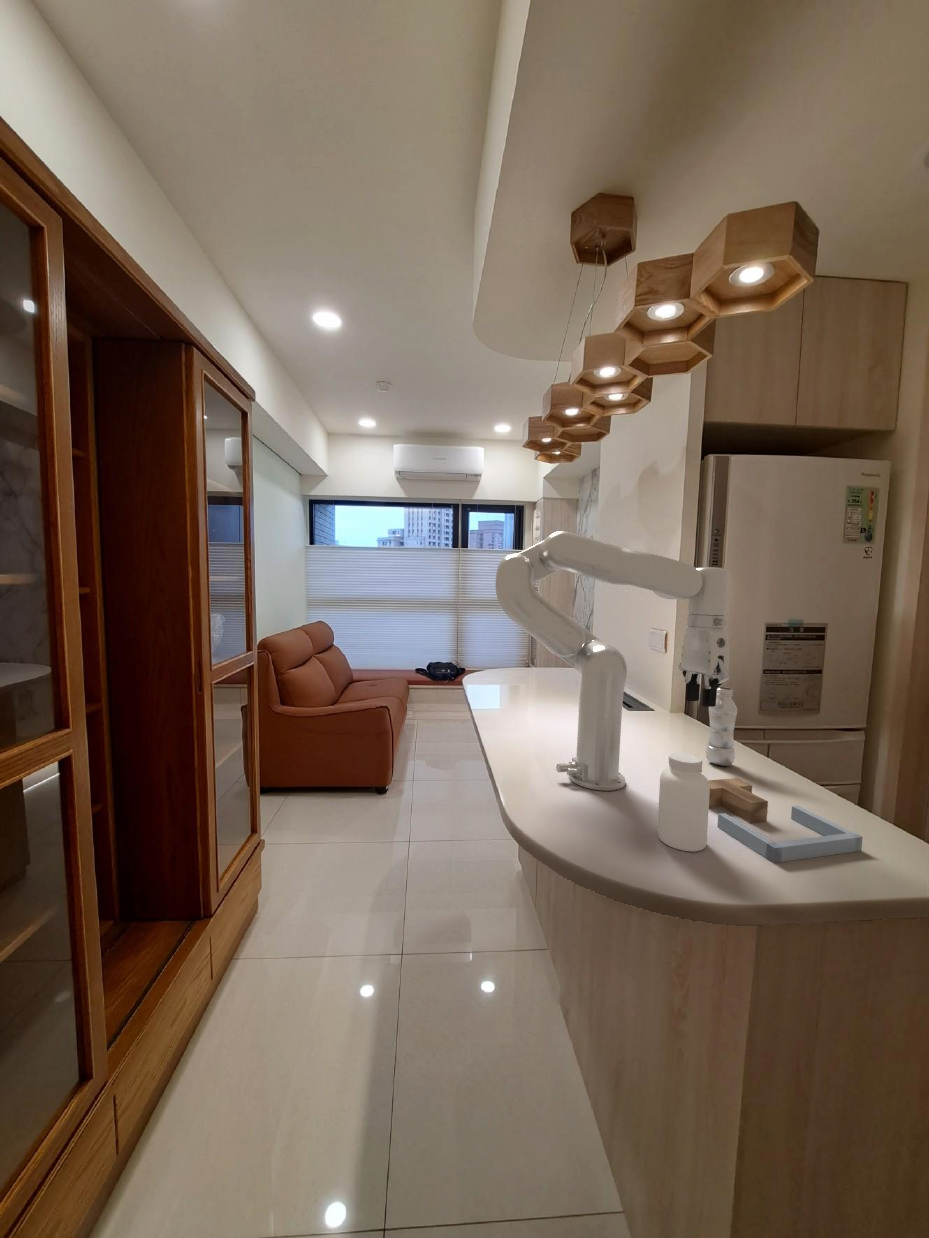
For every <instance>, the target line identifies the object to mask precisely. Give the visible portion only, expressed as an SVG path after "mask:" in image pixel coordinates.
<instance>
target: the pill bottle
mask: <svg viewBox="0 0 929 1238" xmlns="http://www.w3.org/2000/svg"><path fill="white" fill-rule="evenodd" d="M709 780H710V779H708V777H707V776H706V775H705V774H703V760H702V759H701V757H698V756H697V755H694V754H690V753H684V752H673V753H671V754H669V755H668V767H667V768H664V769H663V770H662V772H661V773H660V778H659V790H658V791H659V793H658V794H659V796H658V811H657V836H658V839H659V840H660V841H661V842H662V843H664V844H665V845H667V846H669V847H671V848H672V849H673V848H674V849H676V850H679V851H685V852H699V851H703V850H704V849H705V848H706V846H707V841H708V828H709V827H708V826H709V811H710V810H709V809H710V808H709V794H710V784H709Z"/></svg>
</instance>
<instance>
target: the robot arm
mask: <svg viewBox="0 0 929 1238" xmlns="http://www.w3.org/2000/svg"><path fill="white" fill-rule="evenodd" d="M561 570H562V571H566V572H569V573H572V574H575V575H579V576H583V577H586V578H590V579H592V580H596V581H599V582H602V583H606V584H611V585H618V586H619V585H620V586H630V587H636V588H640V589H644V590H649V591H652V592H653V594H655V595H656V596H658V597H660V598H661V599H665V600H688V603H687V618H686V621H687V622H686V628H685V631H684V635H683V640H682V647H681V655H680V663H678V664H679V665H678V669H679V670H680V671H681V673H682V676H683V677H684V683H685V684H686V688H685V701H686V702H698V701H699V700H700V690H701V683H699V679H700V676H701V675H703V677H704V687H703V688H702V697H701V705H702V707H703V708H709V707H714V706H716V696H717V689H719V688H720V687H721V685H722V684H723V683H725V682H726V681H728V680H730V674H729V671H730V644H729V642H730V641H729V635H728V634H729V633H728V631H727V630H725V626H726V624H727V620H726V610H727V609H726V608H727V596H728V595H727V594H728V581H729V572H728V571H727V569H725V568H723V567H714V566H713V567H712V566H711V567H710V566H709V567H696V566H693V565H692V564H689V563H687V562H683V561H680V560H676V559H673V558H669V557H666V556H663V555H658V554H654V553H650V552H644V551H642V550H641V551H640V550H636V549H632V548H629V547H624V546H623V547H622V546H619V545H615V544H611V543H608V542H604V541H602V540H601V541H600V540H597V539H594V538H590V537H587V536H583V535H580V534H576V533H573V532H570V531H566V530H560V531H559V530H558V531H555V532H552V533H551V534H549V535H548V536H547V537H546V538H545V539H543V540H542V541H540V542H538V543H537V544H534V545H533V546H530V547H528V548H526V549H525V550H523V551H520V552H518V553H511V554H508V555H506V556H504V557H503V558H502V559H501V560H500V562H499V564H498V566H497V568H496V575H495V594H496V598H497V601H498V604H499V606H500V607H501V609H502V611H503V613H504V614H505V615H506V616H507V617H508V618H509V619H510V620H511V621H512V622H513V623H515V624H516V625H517V626H518V627H519V628H521V629H522V630H523V631H524V632H526V633H527V634H528V635H530V636H531V637H532V638H533V639H535V640H536V641H538V642H539V643H540V644H542V645H543V646H544V647H545V649H547V651H548V652H550V653H551V654H553V655H555V656H557V657H558V658H560V659H561V660H563V661H564V662H565V663H566V664H567V665H569V666H570V667H571V668H573V669H575V670H576V671H577V672H578V673H580V675H581V682H580V683H581V684H580V691H579V698H578V699H579V700H578V717H577V719H578V721H577V722H578V723H577V740H576V741H577V742H576V756H575V757H572V758H571V761H569V762H568V763H563V762H562V763H557V764H556V767H555V768H556V769H555V770H556V771H557V773H566V775H567V776H568V777H569V779H570V781H571V782H573V783H574V784H576V785H578V786H581V787H583V788H586V789H591V790H595V791H604V792H605V791H607V792H610V791H616V790H620V789H623V788H624V786H625V785H626V778H625V776H624V775H623V774H622V773H621V772H620V771H619V770H620V752H621V733H622V714H623V713H622V712H623V700H624V692H625V687H626V681H627V675H628V667H627V662H626V659H625V657H624V655H623V654H622V653H621V651H620V650H619V649H618V648H616V647H615V646H612V645H610V644H609V643H606V642H604V641H603V640H601V639H599V638H598V637H597V636H595V635H594V634H593V633H591V632H590V631H589V630H587V629H586V628H584V627H583V626H582V625H581V624H580V623H579V622H578V620H576V619H574V618H573V617H571V616H569V615H567V614H566V613H564V612H563V611H561V610H560V609H558V608H557V607H555V605H553V604H551V603H550V602H549V601H548V600H547V599H546V598H544V597H543V596H541V595H540V594H539V593H538V592H537V590H536V589H535V587H534V584H535V583H537V582H540V581H542V580H544V579H545V578H547V577H551V575H554V574H556V573H557V572H560V571H561Z"/></svg>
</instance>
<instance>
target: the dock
mask: <svg viewBox="0 0 929 1238" xmlns="http://www.w3.org/2000/svg"><path fill="white" fill-rule="evenodd" d="M790 813H791V814H790V819H791V820H792V821H795V822H797V823H799V824H801V825H802V826H805V827H807V828H808V829H810V830H812V831H815V832H816V833H818V834H820V835H822V836H816V837H815V836H814V837H807V838H798V839H797V838H796V839H791V840H784V841H783V840H782V841H775V842H774V841H773V840H770V839H769V838H768V837H766V836H764V835H762V834H761V833H759V832H757V831H755V830H754V829H752V828H751V827H749V826H747V825H746V824H745V823H742V822H741V821H739V820H737V819H735V818H734V817H732V816H731V815H729V814H727V813H726V812H725V813H718V814H717V815H718V816H717V826H716V827H717V828H718V829H720V830H722V831H723V832H725V833H726V834H728V835H729V836H731V837H733V838H734V839H736V840H737V841H739V842H741V843H742V844H744V845H746V846H747V847H748V848H750V849H751V850H753V851H754V852H757V853H758V854H759V855H760V856H762V857H764V858H765V859H767V860H768V861H770V862H771V863H773V864H777V863H784V862H791V861H797V860H798V861H799V860H805V859H813V858H818V857H819V858H820V857H827V856H834V855H841V854H847V853H854V852H862V849H863V846H862V845H863V836H862V835H859V834H858V833H855V832H854V831H852V830H850V829H847V828H845V827H844V826H841V825H839V824H836V823H835V822H832V821H830V820H829V819H827V818H825V817H823V816H821V815H818V814H816V813H814V812H812V811H810V810H807V809H806V808H804V807H801V806H799V805H793V806H791V812H790Z"/></svg>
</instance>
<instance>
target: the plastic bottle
mask: <svg viewBox="0 0 929 1238" xmlns="http://www.w3.org/2000/svg"><path fill="white" fill-rule="evenodd" d="M732 697H734V695H733V688H731V687H726V686H720V688H719V689H717V695H716V706H714V707H708V716H709V735H708V742H707V745H706V750H705V757H706V759H707V761H708V762H710V763H711V764H713V765H718V766H722V767H724V766H725V767H726V766H727V767H729V766H732V765H733V763H735V758H736V753H735V748H734V746H735V745H734V731H735V724H736V720H737V716H738V715H737V714H738V708H737V705H736V703H735V701H734V699H732Z"/></svg>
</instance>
